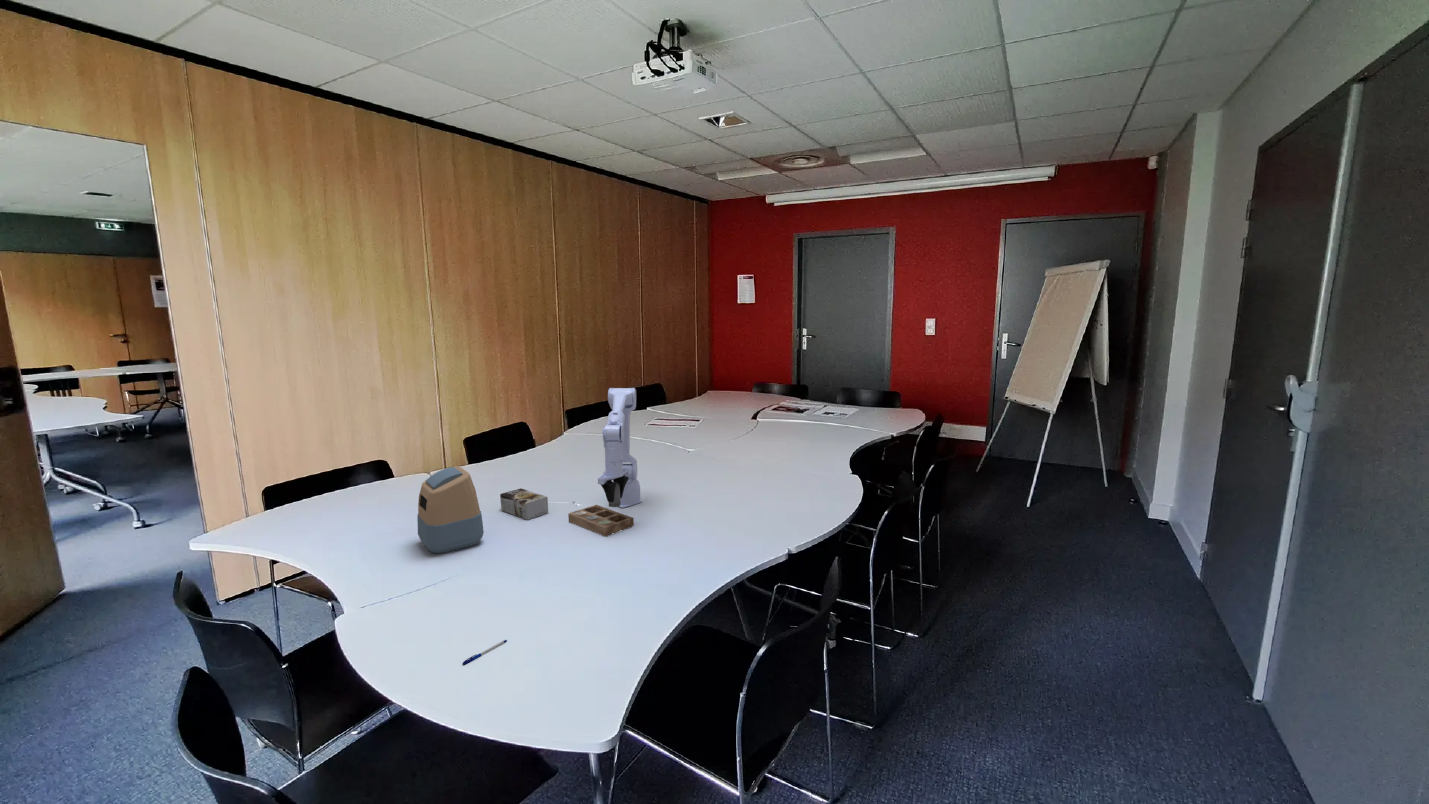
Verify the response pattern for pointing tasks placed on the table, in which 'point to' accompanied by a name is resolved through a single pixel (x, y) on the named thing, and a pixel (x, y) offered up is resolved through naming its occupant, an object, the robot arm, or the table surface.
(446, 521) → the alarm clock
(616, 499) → the plug
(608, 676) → the table surface
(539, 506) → the coffee box
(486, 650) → the ballpoint pen
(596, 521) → the socket board
